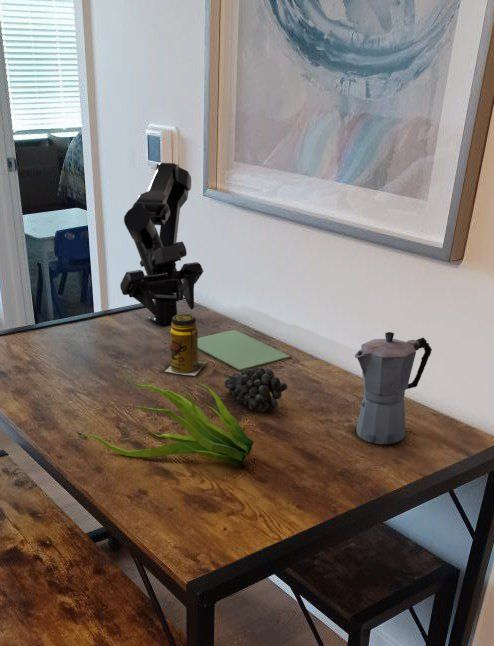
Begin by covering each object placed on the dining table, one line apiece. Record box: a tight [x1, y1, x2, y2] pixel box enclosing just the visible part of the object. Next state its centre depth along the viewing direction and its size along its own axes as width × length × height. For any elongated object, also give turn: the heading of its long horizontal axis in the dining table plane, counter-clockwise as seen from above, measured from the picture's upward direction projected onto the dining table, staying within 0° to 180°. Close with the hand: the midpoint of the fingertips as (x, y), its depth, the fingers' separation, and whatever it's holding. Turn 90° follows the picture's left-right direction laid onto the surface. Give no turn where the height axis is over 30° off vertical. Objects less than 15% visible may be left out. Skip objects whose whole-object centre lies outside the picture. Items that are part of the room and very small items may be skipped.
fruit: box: [224, 366, 288, 413], centre depth 142 cm, size 9×8×15 cm
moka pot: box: [354, 331, 433, 445], centre depth 127 cm, size 10×15×20 cm, turn 113°
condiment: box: [164, 313, 208, 377], centre depth 156 cm, size 7×8×12 cm
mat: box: [198, 329, 291, 372], centre depth 169 cm, size 22×15×1 cm
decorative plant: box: [65, 366, 254, 468], centre depth 121 cm, size 18×30×15 cm, turn 51°
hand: (174, 311), depth 157 cm, fingers open, 9 cm apart
